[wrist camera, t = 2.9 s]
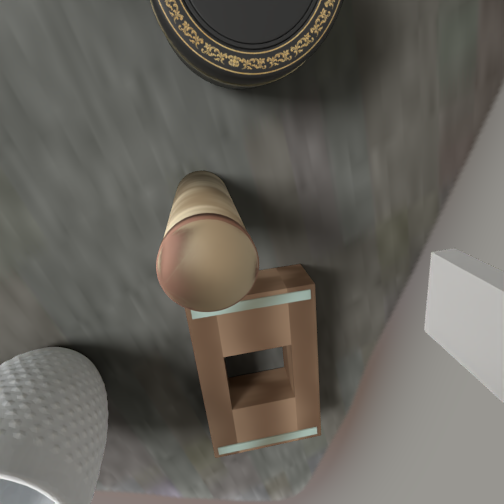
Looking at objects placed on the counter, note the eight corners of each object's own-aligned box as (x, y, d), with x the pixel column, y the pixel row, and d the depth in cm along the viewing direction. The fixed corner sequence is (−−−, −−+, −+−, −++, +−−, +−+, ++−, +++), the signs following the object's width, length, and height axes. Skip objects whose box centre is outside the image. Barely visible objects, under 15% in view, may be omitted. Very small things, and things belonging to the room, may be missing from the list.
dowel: (180, 225, 27) (167, 319, 14) (170, 173, 26) (146, 226, 13) (231, 218, 28) (263, 303, 15) (224, 166, 26) (253, 211, 13)
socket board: (213, 422, 35) (215, 459, 31) (185, 282, 29) (184, 306, 25) (308, 402, 36) (321, 436, 32) (300, 263, 30) (315, 284, 26)
